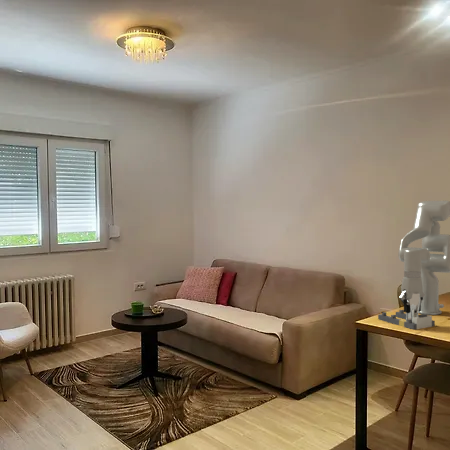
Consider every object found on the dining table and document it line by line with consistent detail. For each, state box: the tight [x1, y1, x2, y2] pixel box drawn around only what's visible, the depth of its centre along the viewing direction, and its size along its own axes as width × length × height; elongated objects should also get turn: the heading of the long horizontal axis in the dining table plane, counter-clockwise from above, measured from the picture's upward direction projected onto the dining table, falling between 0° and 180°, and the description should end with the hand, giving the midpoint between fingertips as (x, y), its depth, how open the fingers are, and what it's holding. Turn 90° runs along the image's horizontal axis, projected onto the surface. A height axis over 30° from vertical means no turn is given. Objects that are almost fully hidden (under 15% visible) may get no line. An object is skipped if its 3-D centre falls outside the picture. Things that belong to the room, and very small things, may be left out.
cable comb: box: [377, 309, 436, 331], centre depth 220 cm, size 14×22×6 cm, turn 26°
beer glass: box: [405, 293, 420, 323], centre depth 217 cm, size 7×7×15 cm
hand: (412, 311), depth 217 cm, fingers closed on beer glass, 6 cm apart
